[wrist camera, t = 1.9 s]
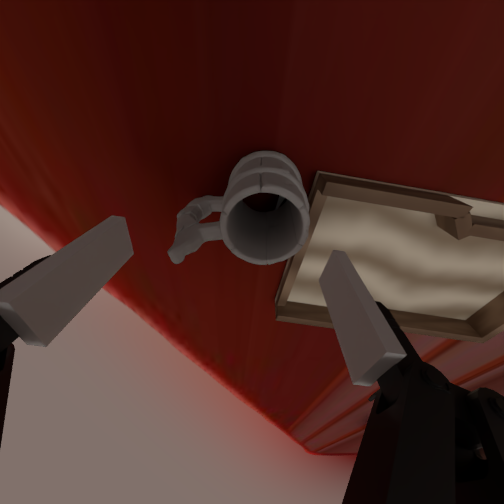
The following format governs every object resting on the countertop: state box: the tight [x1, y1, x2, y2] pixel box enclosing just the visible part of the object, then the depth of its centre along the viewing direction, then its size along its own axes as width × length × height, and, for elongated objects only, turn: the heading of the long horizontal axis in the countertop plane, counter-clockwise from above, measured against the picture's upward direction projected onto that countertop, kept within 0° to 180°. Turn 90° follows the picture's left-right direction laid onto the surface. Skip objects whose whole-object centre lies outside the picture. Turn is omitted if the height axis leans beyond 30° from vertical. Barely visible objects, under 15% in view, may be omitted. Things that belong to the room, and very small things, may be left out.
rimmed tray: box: [275, 171, 504, 343], centre depth 25 cm, size 20×32×4 cm, turn 81°
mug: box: [168, 151, 310, 265], centre depth 17 cm, size 8×12×12 cm, turn 100°
